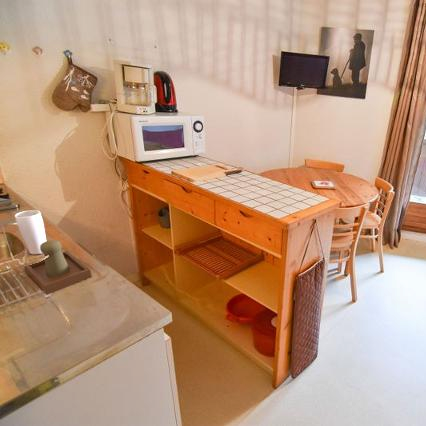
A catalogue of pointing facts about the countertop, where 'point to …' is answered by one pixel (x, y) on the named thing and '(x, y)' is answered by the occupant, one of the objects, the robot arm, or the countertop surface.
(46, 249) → the cork
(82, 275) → the tray
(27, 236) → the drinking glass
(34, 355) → the countertop surface
